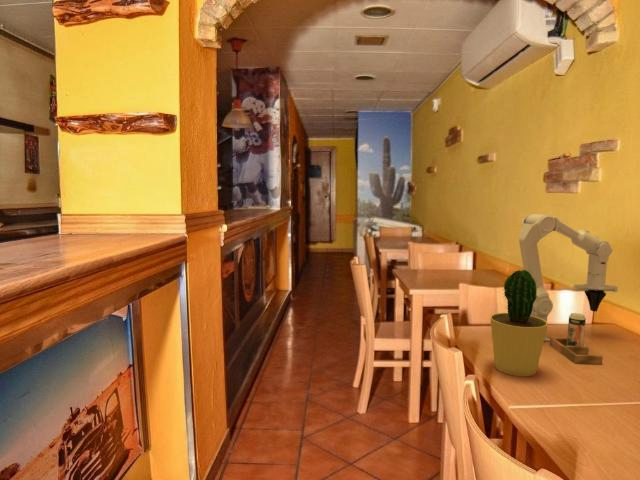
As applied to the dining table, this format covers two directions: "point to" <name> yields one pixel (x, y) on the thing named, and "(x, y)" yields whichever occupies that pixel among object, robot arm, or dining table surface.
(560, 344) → the brown compartment tray
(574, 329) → the beer can
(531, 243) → the robot arm
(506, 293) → the potted cactus
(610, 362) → the dining table surface
